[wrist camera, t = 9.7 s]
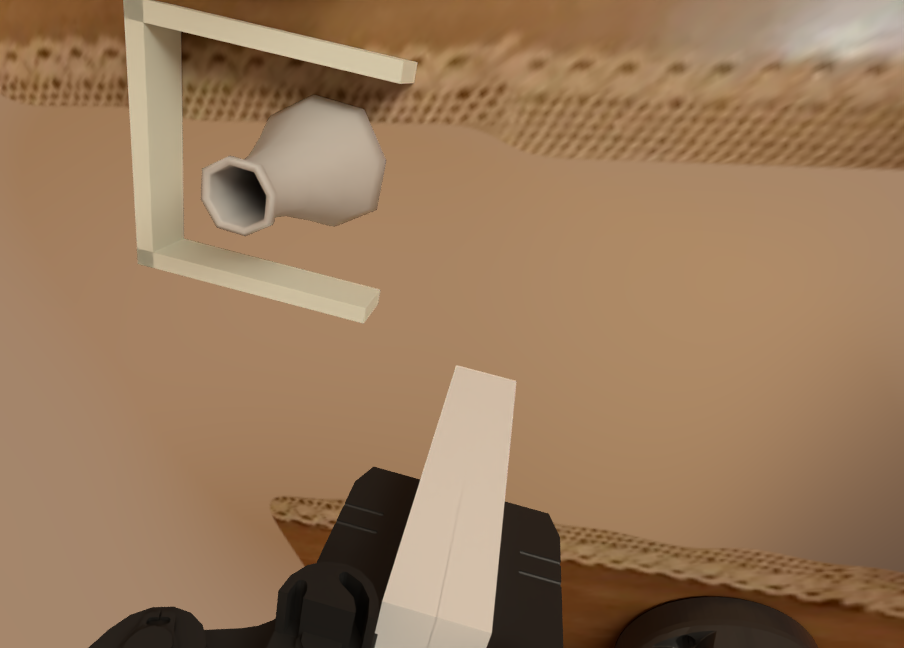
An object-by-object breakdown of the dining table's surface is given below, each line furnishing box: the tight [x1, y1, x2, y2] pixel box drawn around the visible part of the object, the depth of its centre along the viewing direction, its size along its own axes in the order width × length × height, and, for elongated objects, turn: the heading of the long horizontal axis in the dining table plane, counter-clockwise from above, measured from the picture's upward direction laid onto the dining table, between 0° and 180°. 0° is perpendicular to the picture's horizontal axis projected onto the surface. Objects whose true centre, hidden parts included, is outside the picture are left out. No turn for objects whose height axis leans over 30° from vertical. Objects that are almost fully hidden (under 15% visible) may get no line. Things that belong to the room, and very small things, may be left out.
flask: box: [201, 95, 386, 236], centre depth 26 cm, size 7×7×10 cm
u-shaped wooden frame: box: [123, 0, 417, 323], centre depth 30 cm, size 14×14×3 cm
